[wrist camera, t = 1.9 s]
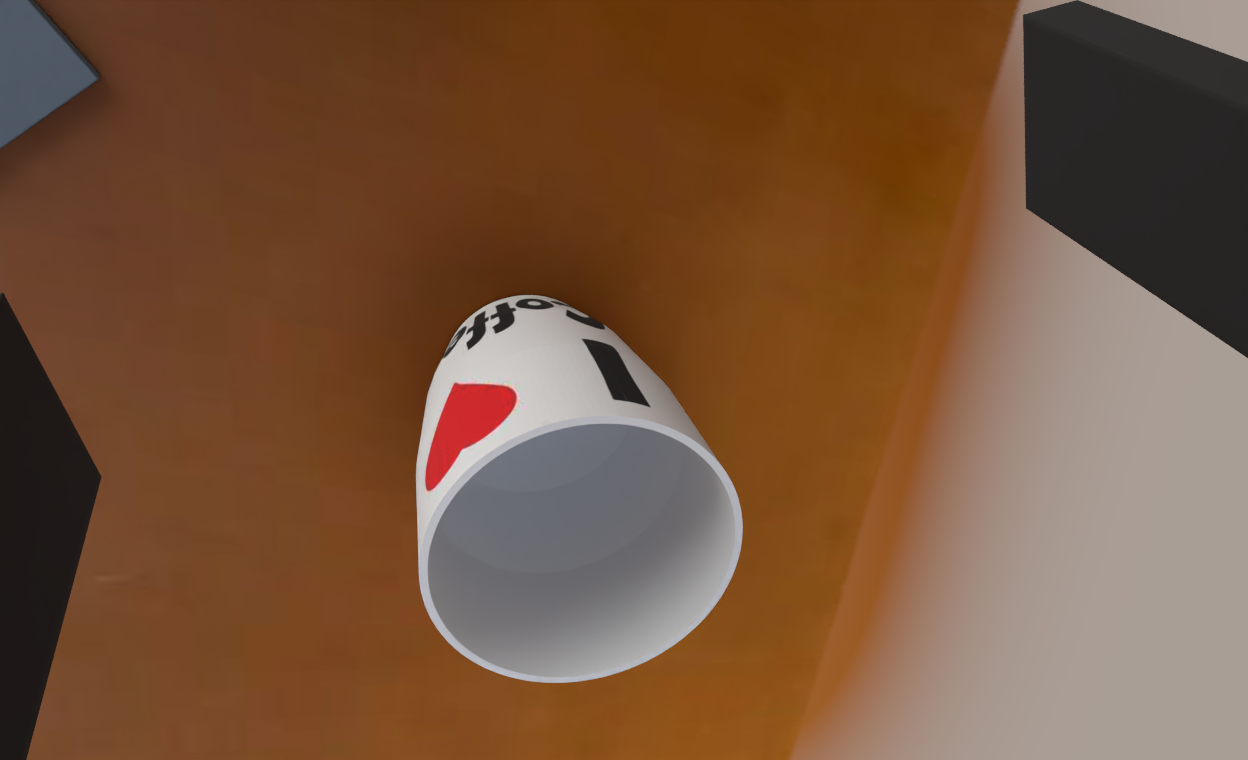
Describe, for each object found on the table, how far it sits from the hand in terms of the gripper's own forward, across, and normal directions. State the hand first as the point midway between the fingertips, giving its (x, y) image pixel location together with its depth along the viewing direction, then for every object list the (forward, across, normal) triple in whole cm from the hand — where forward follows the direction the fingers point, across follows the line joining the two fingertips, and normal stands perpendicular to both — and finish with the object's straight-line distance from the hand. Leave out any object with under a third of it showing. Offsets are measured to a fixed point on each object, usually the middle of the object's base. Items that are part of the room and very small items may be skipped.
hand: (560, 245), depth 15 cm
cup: (+19, 0, -12) cm, 23 cm away
